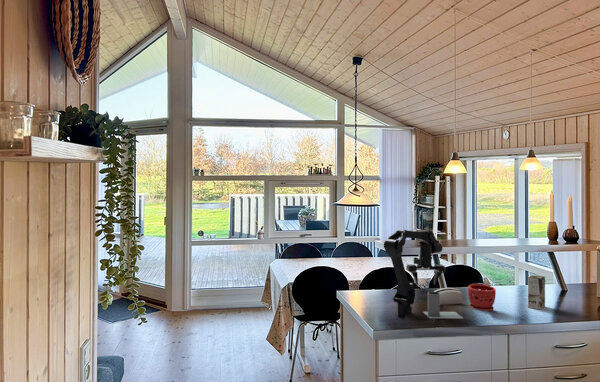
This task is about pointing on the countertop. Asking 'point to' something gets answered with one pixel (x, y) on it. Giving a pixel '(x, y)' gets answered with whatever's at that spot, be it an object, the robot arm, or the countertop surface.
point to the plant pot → (481, 297)
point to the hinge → (449, 296)
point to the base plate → (446, 315)
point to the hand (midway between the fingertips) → (425, 284)
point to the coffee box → (536, 292)
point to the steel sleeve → (434, 304)
